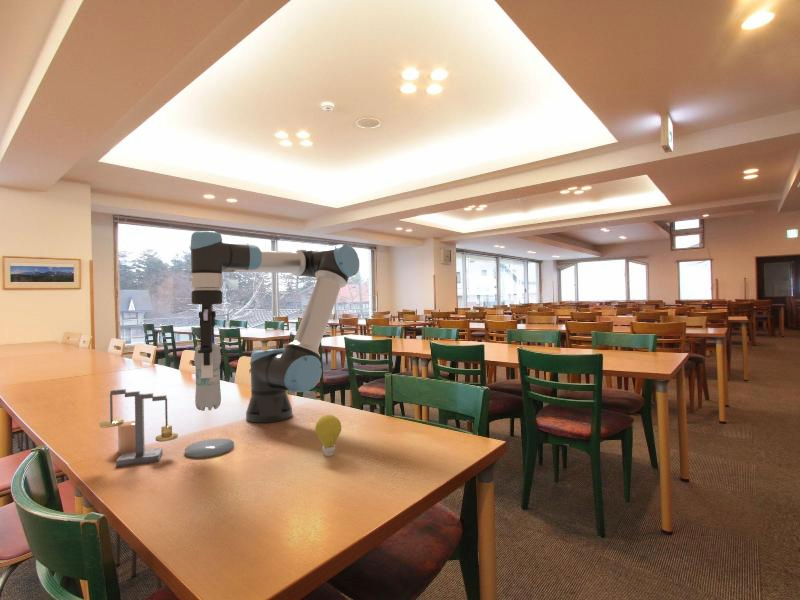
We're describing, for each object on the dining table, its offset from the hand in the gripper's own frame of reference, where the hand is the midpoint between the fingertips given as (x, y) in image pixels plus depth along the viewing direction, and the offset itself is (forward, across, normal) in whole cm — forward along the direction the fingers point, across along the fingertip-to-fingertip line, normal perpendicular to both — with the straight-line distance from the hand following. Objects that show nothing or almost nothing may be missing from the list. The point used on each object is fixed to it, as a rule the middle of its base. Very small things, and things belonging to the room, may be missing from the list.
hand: (208, 375), depth 113 cm
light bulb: (+20, +16, +29) cm, 39 cm away
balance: (+20, +1, -16) cm, 26 cm away
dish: (+20, 0, 0) cm, 20 cm away
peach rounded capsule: (+20, -9, -20) cm, 30 cm away
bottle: (+9, 0, 0) cm, 9 cm away
